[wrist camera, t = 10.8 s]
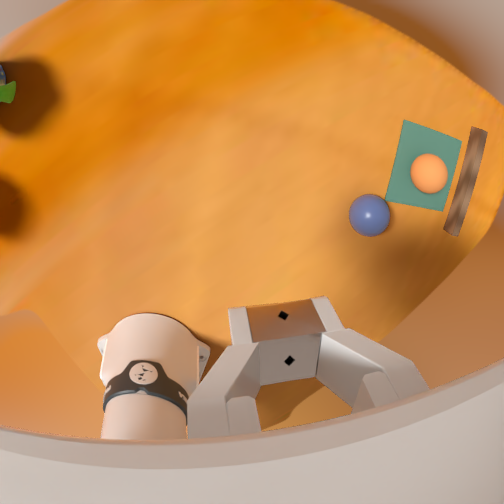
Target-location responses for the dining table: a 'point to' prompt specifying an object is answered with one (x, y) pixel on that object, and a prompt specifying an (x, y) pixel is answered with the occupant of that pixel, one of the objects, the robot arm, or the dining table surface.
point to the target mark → (409, 148)
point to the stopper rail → (466, 181)
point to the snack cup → (6, 88)
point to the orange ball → (429, 173)
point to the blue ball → (369, 215)
